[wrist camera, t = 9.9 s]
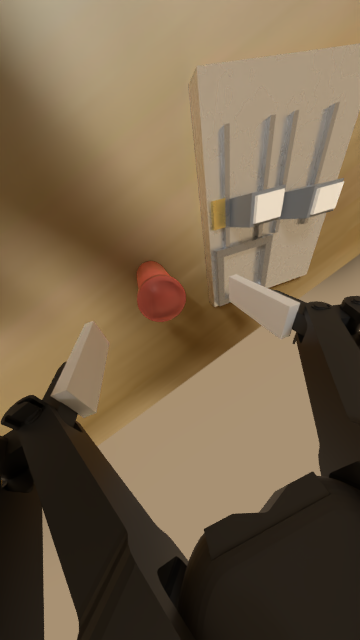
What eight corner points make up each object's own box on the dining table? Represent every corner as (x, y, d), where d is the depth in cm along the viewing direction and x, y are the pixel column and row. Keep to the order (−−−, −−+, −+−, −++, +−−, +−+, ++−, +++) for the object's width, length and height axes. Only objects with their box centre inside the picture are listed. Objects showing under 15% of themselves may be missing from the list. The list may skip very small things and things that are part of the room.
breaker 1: (229, 198, 18) (254, 192, 14) (258, 191, 18) (289, 183, 15) (229, 227, 19) (252, 227, 16) (255, 219, 20) (282, 218, 16)
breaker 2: (283, 192, 19) (318, 185, 16) (308, 185, 20) (348, 177, 16) (279, 219, 21) (309, 218, 17) (302, 212, 21) (336, 210, 18)
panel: (188, 84, 14) (201, 54, 11) (356, 59, 16) (397, 29, 13) (209, 302, 28) (217, 309, 25) (296, 271, 30) (311, 275, 28)
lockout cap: (128, 264, 20) (128, 286, 13) (162, 254, 21) (180, 270, 14) (141, 295, 23) (147, 327, 16) (170, 286, 24) (189, 313, 17)
